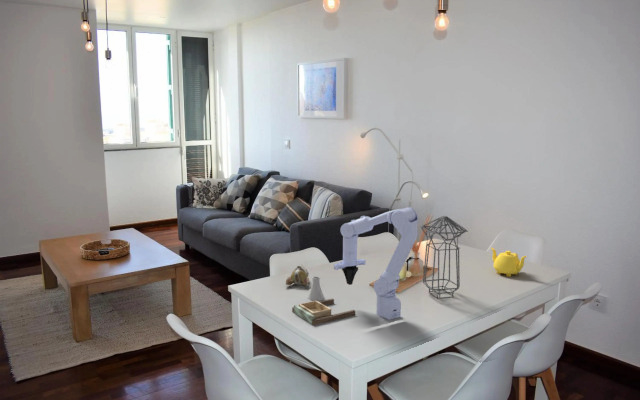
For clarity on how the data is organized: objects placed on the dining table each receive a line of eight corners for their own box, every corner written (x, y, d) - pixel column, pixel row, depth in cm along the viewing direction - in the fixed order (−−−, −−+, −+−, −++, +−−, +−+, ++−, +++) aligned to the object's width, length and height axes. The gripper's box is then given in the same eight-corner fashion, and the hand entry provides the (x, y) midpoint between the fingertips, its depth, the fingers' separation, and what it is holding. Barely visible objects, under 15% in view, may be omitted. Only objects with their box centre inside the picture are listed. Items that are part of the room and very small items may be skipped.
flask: (314, 296, 231) (314, 273, 230) (327, 299, 227) (328, 277, 225) (303, 300, 226) (303, 277, 224) (317, 304, 221) (317, 281, 220)
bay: (355, 317, 208) (355, 307, 207) (313, 327, 198) (313, 317, 197) (332, 304, 221) (332, 295, 221) (292, 313, 211) (292, 304, 210)
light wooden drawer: (331, 317, 205) (331, 309, 204) (313, 322, 200) (313, 313, 200) (316, 308, 214) (316, 300, 213) (298, 312, 210) (298, 304, 209)
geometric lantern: (432, 302, 224) (436, 220, 218) (416, 290, 239) (419, 213, 233) (466, 299, 228) (470, 218, 222) (448, 287, 243) (451, 211, 237)
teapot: (534, 275, 262) (536, 252, 260) (517, 281, 253) (519, 257, 251) (499, 266, 277) (500, 244, 275) (481, 271, 268) (483, 249, 266)
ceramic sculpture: (312, 261, 252) (307, 272, 238) (312, 278, 254) (307, 290, 240) (290, 260, 254) (284, 271, 239) (290, 277, 256) (284, 290, 241)
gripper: (358, 247, 223) (358, 278, 225) (329, 251, 215) (329, 284, 218) (368, 250, 217) (368, 282, 219) (339, 255, 209) (339, 289, 212)
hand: (349, 283), depth 218 cm, fingers closed
